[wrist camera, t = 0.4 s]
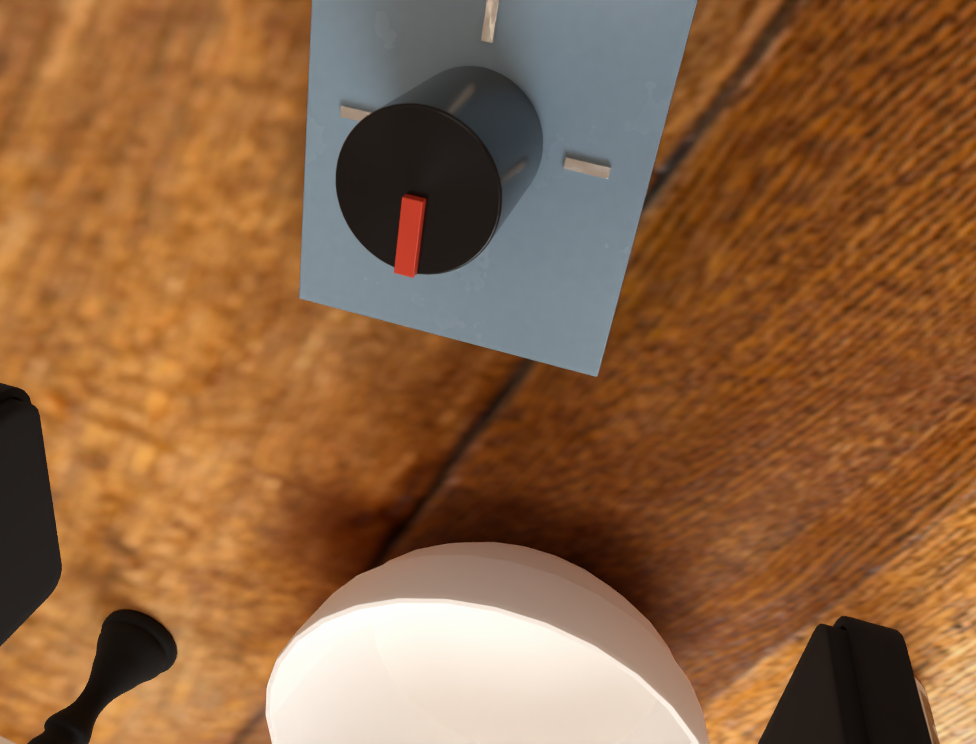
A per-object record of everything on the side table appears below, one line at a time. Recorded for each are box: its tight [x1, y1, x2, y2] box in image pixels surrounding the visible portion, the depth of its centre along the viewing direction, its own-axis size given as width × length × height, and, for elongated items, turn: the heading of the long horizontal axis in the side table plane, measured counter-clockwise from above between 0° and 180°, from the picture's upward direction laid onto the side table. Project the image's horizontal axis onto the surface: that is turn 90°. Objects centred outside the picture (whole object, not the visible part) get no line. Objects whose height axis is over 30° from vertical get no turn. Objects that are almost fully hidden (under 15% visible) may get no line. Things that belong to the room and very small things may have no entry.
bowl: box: [266, 542, 709, 744], centre depth 36 cm, size 18×18×7 cm
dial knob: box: [336, 66, 543, 278], centre depth 23 cm, size 4×4×6 cm
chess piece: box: [28, 610, 177, 744], centre depth 42 cm, size 4×4×10 cm
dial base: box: [299, 0, 698, 377], centre depth 27 cm, size 14×11×3 cm
